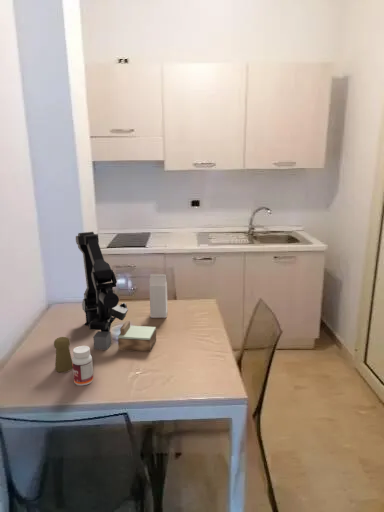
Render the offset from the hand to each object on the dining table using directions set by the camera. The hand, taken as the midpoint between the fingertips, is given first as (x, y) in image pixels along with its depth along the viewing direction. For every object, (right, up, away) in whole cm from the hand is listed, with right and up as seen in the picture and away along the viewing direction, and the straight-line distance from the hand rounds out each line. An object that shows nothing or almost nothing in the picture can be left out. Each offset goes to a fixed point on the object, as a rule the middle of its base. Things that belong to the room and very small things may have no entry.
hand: (106, 337), depth 160 cm
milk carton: (+18, +5, +26) cm, 32 cm away
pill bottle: (-2, -9, -27) cm, 29 cm away
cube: (-1, -3, -4) cm, 5 cm away
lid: (+13, +2, -4) cm, 13 cm away
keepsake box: (+13, -2, -3) cm, 13 cm away
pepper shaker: (-11, -7, -19) cm, 23 cm away
